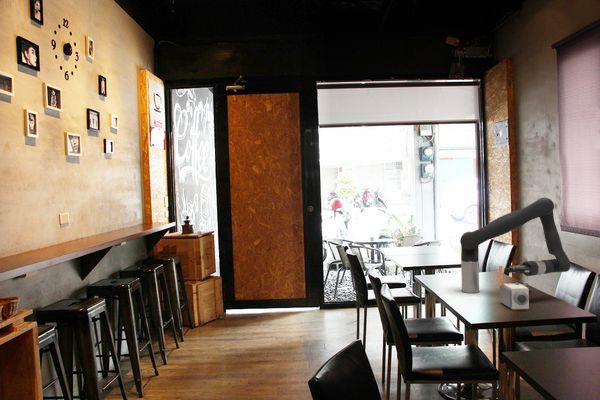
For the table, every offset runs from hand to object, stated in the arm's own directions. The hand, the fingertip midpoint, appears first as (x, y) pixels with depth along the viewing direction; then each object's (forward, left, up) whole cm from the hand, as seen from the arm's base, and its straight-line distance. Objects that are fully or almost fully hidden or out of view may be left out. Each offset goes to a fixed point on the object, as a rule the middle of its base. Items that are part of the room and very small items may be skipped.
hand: (505, 270), depth 250 cm
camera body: (+6, +3, -16) cm, 18 cm away
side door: (+5, -2, -16) cm, 17 cm away
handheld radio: (-12, +12, -17) cm, 24 cm away
